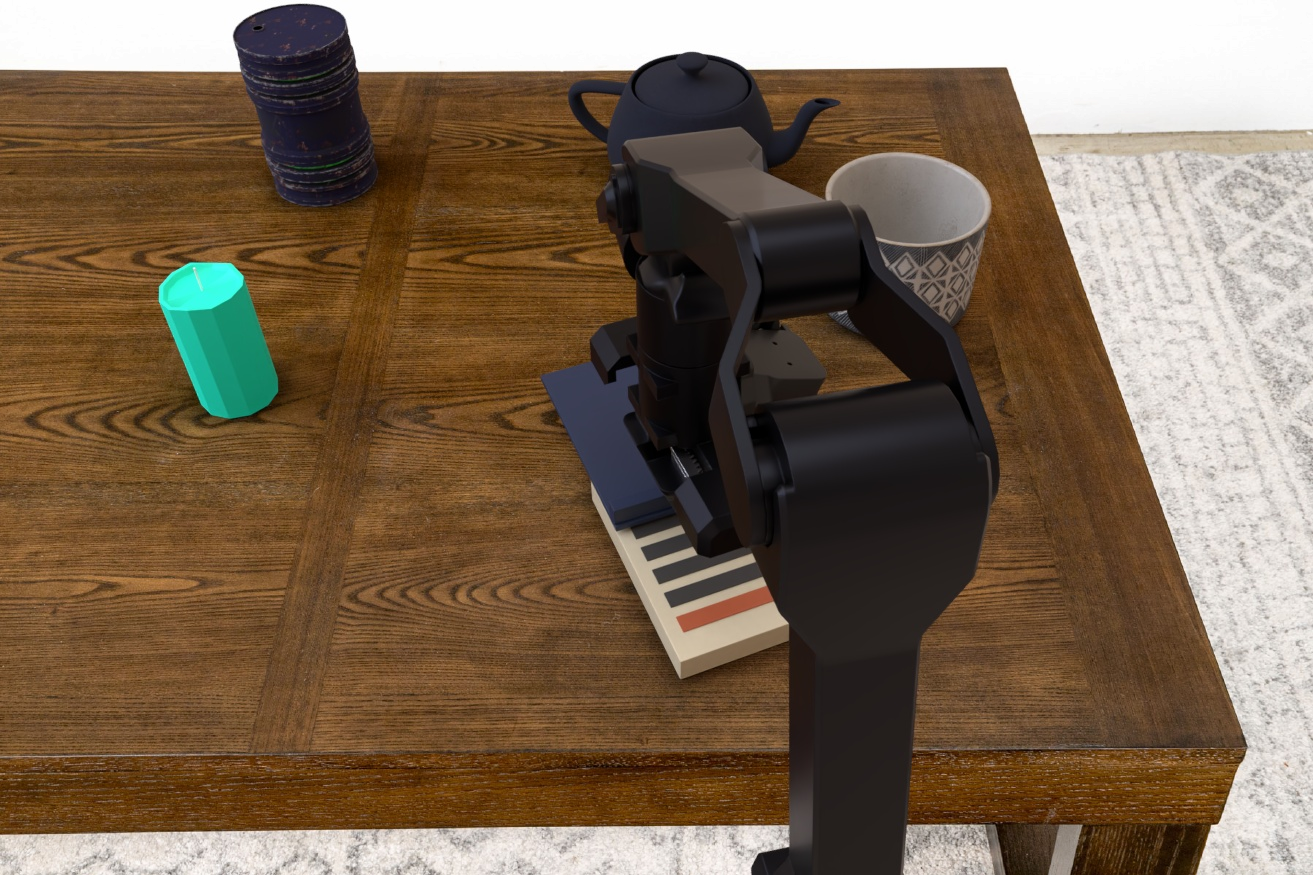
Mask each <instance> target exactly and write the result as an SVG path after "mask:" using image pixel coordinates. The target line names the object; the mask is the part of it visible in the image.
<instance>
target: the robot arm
mask: <svg viewBox="0 0 1313 875" xmlns="http://www.w3.org/2000/svg"><path fill="white" fill-rule="evenodd" d="M621 153H622V158H623V161H626V163H625V164H615V165H612V166H611V165H610V167H609V172H608V178H607V182H605V183H604V187H603V189H602V191H601V192H600V194H599V195H598V197H597V199H595V207H596V213H597V214H596V216H597V221H598V224H599V225H601V224H606V223H607V226H608V230H609V233H610V234H614V235H615V238H616V242H617V245H618V249H619V251H620V255H621V258H622V262H623V265H624V268H625V270H626V271H627V273H628V275H629V276H630V277H631V278H632V279H633V280H634V281H635V300H636V301H635V304H636V305H635V306H636V316H635V315H634V316H633V317H627V318H626V319H625V318H624V319H621V320H618V321H617V320H616V321H613V322H609V323H606V324H602V325H601V326H600V327H599V328H598V329H597V330H596V331H595V333H594V334H593V335H592V336H591V337H590V338H589V350H590V352H589V353H590V362H591V361H592V363H593V365H594V367H595V369H596V371H597V372H598V374H599V376H600V378H601V380H602V382H603V383H604V385H606V384H609V383H613V382H616V381H617V380H616V371H617V370H621V369H624V368H628V367H632V366H635V365H636V366H637V367H638V382H639V383H638V384H634V385H631V386H628V399H629V401H630V402H631V404H632V406H633V408H634V410H635V411H634V412H630V413H628V414H626V415H625V416H624V418H623V422H624V425H625V427H626V428H627V430H628V432H629V434H630V436H631V438H632V439H633V441H634V443H635V445H636V447H637V449H638V450H639V452H640V454H641V455H642V457H643V458H644V460H645V462H646V465H647V467H648V469H649V471H650V472H651V474H652V476H653V478H654V480H655V482H656V483H657V485H658V487H659V489H660V491H661V492H662V494H663V495H664V496H665V497H666V498H667V500H668V501H669V503H670V504H671V506H672V507H673V509H674V510H675V512H676V513H677V515H678V519H679V522H680V524H681V526H682V528H683V530H684V531H685V533H686V535H687V537H688V539H689V541H690V542H691V544H692V546H693V548H694V550H695V551H696V553H697V554H698V555H701V556H704V557H707V558H713V557H716V556H719V555H722V554H725V553H728V552H731V551H734V550H737V549H740V548H743V547H745V548H750V550H751V552H752V554H753V556H754V559H755V561H756V563H757V565H758V567H759V570H760V572H761V574H762V576H763V579H764V581H765V583H766V585H767V587H768V590H769V592H770V594H771V596H772V598H773V601H774V603H775V605H776V607H777V609H778V611H779V613H780V615H781V616H782V617H783V618H784V619H785V620H786V621H787V622H788V623H789V641H788V789H789V790H788V821H789V822H788V828H789V829H788V846H786V847H782V848H781V847H780V848H776V849H772V850H767V851H762V852H758V853H757V854H756V857H755V859H754V860H753V862H752V864H751V867H750V874H751V875H905V873H904V870H905V869H904V868H905V867H904V866H905V855H906V842H907V830H908V818H909V817H908V815H909V803H910V802H909V801H910V792H911V791H910V790H911V779H912V778H911V777H912V765H913V764H912V763H913V753H914V752H913V750H914V740H915V738H914V737H915V724H916V714H917V713H916V712H917V698H918V686H919V672H920V660H921V647H922V640H923V635H924V634H925V633H926V632H927V631H928V629H930V627H931V626H932V625H933V624H934V623H935V622H936V621H937V619H938V618H939V617H940V616H941V615H942V614H944V612H945V611H946V610H947V608H948V607H949V606H950V605H951V604H952V603H953V602H954V600H956V599H957V597H958V596H959V595H960V594H961V593H962V592H963V591H964V590H965V588H966V587H967V586H968V585H969V584H970V583H971V582H972V580H973V579H974V577H975V576H976V574H977V570H978V566H979V561H980V557H981V552H982V548H983V544H984V540H985V535H986V532H987V527H988V523H989V519H990V513H991V506H992V505H993V504H994V502H995V500H996V498H997V496H998V493H999V487H1000V481H1001V480H1000V479H1001V470H1000V469H1001V468H1000V458H999V456H1000V455H999V451H998V447H997V444H996V439H995V435H994V433H993V429H992V427H991V424H990V421H989V418H988V415H987V412H986V409H985V406H984V403H983V401H982V398H981V395H980V392H979V389H978V386H977V384H976V381H975V378H974V375H973V373H972V369H971V367H970V364H969V360H968V358H967V355H966V352H965V349H964V346H963V344H962V340H961V338H960V336H959V335H958V333H957V331H956V330H955V329H954V328H953V327H951V326H950V325H949V324H948V323H947V322H946V321H945V320H944V319H943V318H941V317H940V316H939V315H938V314H937V313H936V312H935V311H934V310H933V309H932V308H931V307H929V306H928V305H927V304H926V303H925V302H924V301H923V300H922V299H921V298H920V297H919V296H917V295H916V294H915V293H914V292H913V291H912V290H911V289H910V288H909V287H908V286H907V285H906V284H904V283H903V282H902V281H901V280H900V279H899V278H898V277H897V276H896V275H895V274H894V273H892V272H891V271H890V270H889V269H888V268H887V267H886V266H885V264H884V261H883V258H882V255H881V252H880V249H879V246H878V243H877V240H876V237H875V234H874V231H873V228H872V225H871V222H870V220H869V218H868V216H867V213H866V211H865V210H864V209H863V208H862V207H861V206H860V205H859V204H858V205H850V206H846V205H845V204H844V203H843V202H842V201H840V200H837V199H835V200H827V201H826V200H825V198H821V197H819V196H817V195H815V194H814V193H811V192H809V191H806V190H804V189H802V188H800V187H798V186H796V185H793V184H791V183H789V182H787V181H785V180H783V179H780V178H778V177H777V176H774V175H771V174H770V170H769V169H768V166H767V161H766V158H765V156H764V153H763V151H762V147H761V146H760V145H759V144H758V143H757V142H756V141H755V140H754V139H753V138H752V137H751V136H750V135H749V134H748V133H747V132H746V131H745V130H744V129H743V128H741V127H735V128H726V129H718V130H709V131H701V132H692V133H684V134H676V135H667V136H659V137H650V138H642V139H633V140H627V141H626V142H625V143H624V144H623V146H622V149H621ZM846 310H847V313H848V316H849V319H850V321H851V322H852V324H853V325H854V327H855V328H856V329H857V330H858V331H859V332H860V333H861V334H863V335H862V336H863V337H865V339H867V340H868V341H869V343H870V344H872V346H874V348H876V349H877V350H878V351H879V352H880V353H881V354H882V355H883V356H884V357H885V358H887V359H888V360H889V361H890V362H891V363H892V365H894V366H896V368H897V369H898V370H899V371H900V372H902V373H903V374H904V375H905V376H906V377H907V378H908V379H909V380H904V381H898V382H892V383H885V384H878V385H872V386H865V387H859V388H852V389H847V390H839V391H833V392H827V393H819V391H820V390H821V387H822V385H823V384H824V382H825V380H826V378H827V376H828V374H827V369H826V368H825V367H824V365H823V364H822V363H821V361H820V360H819V359H818V357H817V356H816V354H815V353H814V352H813V351H812V349H811V348H810V347H809V346H808V344H807V343H806V342H805V340H804V339H803V338H802V337H801V336H800V335H798V334H797V333H795V332H793V331H792V330H791V328H790V327H789V325H788V324H786V323H781V324H780V321H783V320H789V319H790V320H791V319H795V318H796V319H797V318H798V319H799V318H804V317H810V316H819V315H824V314H827V313H832V312H839V311H846ZM861 334H860V335H861ZM818 393H819V394H818Z"/></svg>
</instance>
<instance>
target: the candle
mask: <svg viewBox="0 0 1313 875" xmlns="http://www.w3.org/2000/svg"><path fill="white" fill-rule="evenodd" d="M246 282H247V281H246V279H245V276H244V274H242V273H241V272H240V270H238V269H237V268H236V266H235V265H234V264H232V263H231V262H188V263H187V264H185V265H184V266H182V267H180V268H178V269H176V270H174V271H172V272H171V273H169V275H168V276H167V277H166V278H165V280H164V281H163V282H161V284H160V285H159V286H158V302H159V305H160V308H161V310H162V312H163V315H164V318H165V320H166V323H167V325H168V327H169V330H170V333H171V335H172V337H173V339H174V342H175V344H176V347H177V349H178V352H179V354H180V357H181V359H182V361H183V364H184V366H185V368H186V371H187V374H188V376H189V378H190V380H191V383H192V386H193V388H194V390H195V393H196V396H197V398H198V400H199V402H200V405H201V407H203V408H204V409H205V411H207V412H208V413H209V414H210V416H214V417H220V418H224V419H236V418H242V417H247V416H252V415H253V414H256V413H257V412H259V411H260V410H262V409H264V408H266V407H268V406H269V405H270V404H271V403H272V401H273V400H274V398H275V397H276V395H278V393H279V378H278V375H277V371H276V369H275V365H274V362H273V360H272V357H271V354H270V350H269V347H268V345H267V342H266V338H265V336H264V332H263V330H262V327H261V324H260V321H259V317H258V315H257V311H256V308H255V306H254V303H253V299H252V296H251V294H250V292H249V288H248V285H247V283H246Z"/></svg>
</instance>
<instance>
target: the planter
mask: <svg viewBox="0 0 1313 875" xmlns="http://www.w3.org/2000/svg"><path fill="white" fill-rule="evenodd" d="M835 199H837V200H840V201H842V202H843V203H844V204H845V205H846V206H850V205H858V204H859V205H860V206H861V207H862V208H863V209H864V210H865V211H866V213H867V216H868V218H869V220H870V222H871V225H872V228H873V231H874V234H875V237H876V240H877V243H878V246H879V249H880V252H881V255H882V258H883V261H884V264H885V266H886V267H887V268H888V269H889V270H890V271H891V272H892V273H894V274H895V275H896V276H897V277H898V278H899V279H900V280H901V281H902V282H903V283H904V284H906V285H907V286H908V287H909V288H910V289H911V290H912V291H913V292H914V293H915V294H916V295H917V296H919V297H920V298H921V299H922V300H923V301H924V302H925V303H926V304H927V305H928V306H929V307H931V308H932V309H933V310H934V311H935V312H936V313H937V314H938V315H939V316H940V317H941V318H943V319H944V320H945V321H946V322H947V323H948V324H949V325H950V326H951V327H952V328H953V327H955V326H956V325H957V324H958V323H959V322H960V321H961V320H962V318H963V317H964V316H965V315H966V313H967V311H968V308H969V305H970V301H971V297H972V292H973V288H974V285H975V279H976V276H977V271H978V268H979V263H980V259H981V255H982V250H983V246H984V242H985V238H986V235H987V234H986V233H987V230H988V226H989V221H990V217H991V212H992V199H991V196H990V194H989V192H988V190H987V188H986V187H985V185H984V183H982V182H981V181H980V180H979V179H978V178H977V177H976V176H975V175H973V174H972V173H971V172H970V171H968V170H966V169H965V168H963V167H961V166H959V165H957V164H955V163H952V162H951V161H948V160H945V159H942V158H939V157H935V156H932V155H928V154H922V153H915V152H903V151H901V152H900V151H897V152H896V151H895V152H893V151H892V152H880V153H874V154H869V155H864V156H861V157H858V158H856V159H853V160H850V161H849V162H847V163H845V164H843V165H842V166H840V167H839V168H838V169H837V170H836V171H835V172H834V173H833V174H831V177H830V178H829V179H828V181H827V183H826V186H825V193H824V200H826V201H827V200H835ZM826 314H827V315H828V316H829V317H830V318H831V319H833V320H834V321H835V322H836V323H837V324H839V325H841V326H842V327H843V328H845V329H848V330H849V331H851V332H854V333H855V334H858V335H861V336H864V335H863V334H861V333H860V332H859V331H858V330H857V329H856V328H855V327H854V325H853V324H852V322H851V321H850V319H849V316H848V313H847V310H846V311H839V312H832V313H826Z"/></svg>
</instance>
